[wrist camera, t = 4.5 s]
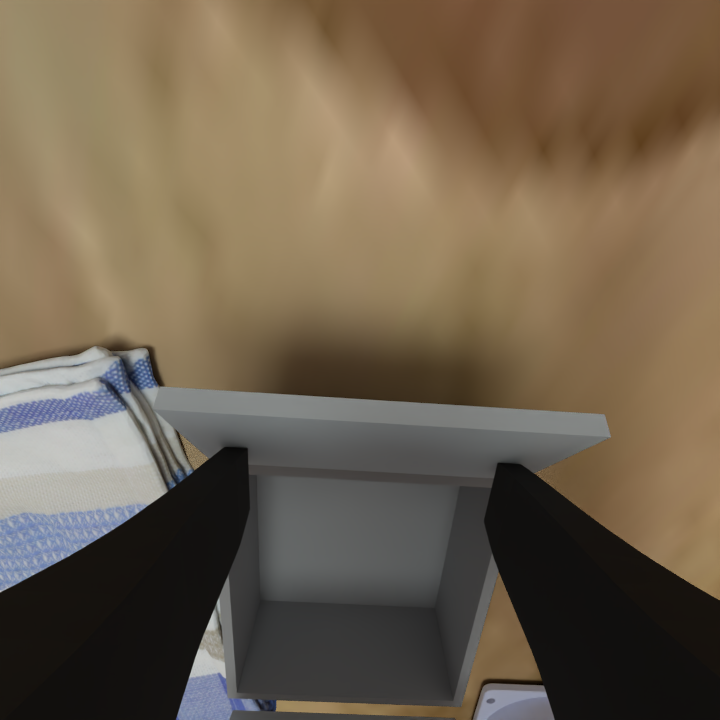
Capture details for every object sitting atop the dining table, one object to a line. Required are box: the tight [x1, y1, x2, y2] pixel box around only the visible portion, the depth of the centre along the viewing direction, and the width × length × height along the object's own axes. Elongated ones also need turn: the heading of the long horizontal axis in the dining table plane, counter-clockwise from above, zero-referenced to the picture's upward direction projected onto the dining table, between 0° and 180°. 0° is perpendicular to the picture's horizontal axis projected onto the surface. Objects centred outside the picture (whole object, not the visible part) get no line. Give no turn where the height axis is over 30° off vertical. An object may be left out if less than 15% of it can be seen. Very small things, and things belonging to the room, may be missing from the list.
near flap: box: [153, 387, 611, 478], centre depth 10 cm, size 4×9×1 cm
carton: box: [219, 465, 499, 707], centre depth 16 cm, size 12×10×4 cm
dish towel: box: [0, 346, 276, 720], centre depth 19 cm, size 17×24×3 cm
